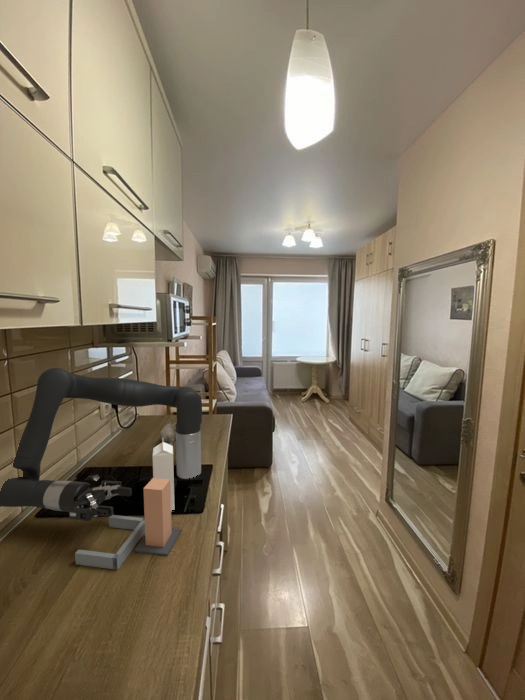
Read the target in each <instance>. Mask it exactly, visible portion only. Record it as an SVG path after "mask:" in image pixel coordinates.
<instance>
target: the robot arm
mask: <svg viewBox="0 0 525 700" xmlns="http://www.w3.org/2000/svg"><path fill="white" fill-rule="evenodd" d="M64 399H84V400H90V401H96V402H99V403H103V404H110V405H115V406H123V407H131V408H132V407H137V408H139V407H147V406H157V405H158V406H166V407H173V408H175V409H176V422H175V423H176V425H175V426H176V432H175V437H176V442H175V454H176V455H175V457H176V460H175V461H176V462H175V463H176V476H177V477H178V478H180V479H184V480H189V478H190V479H194V478H196V476H197V475H198V476H200V475H201V473H202V451H201V450H202V448H201V447H202V446H201V445H202V441H201V439H202V437H201V435H202V434H201V432H202V431H201V426H202V422H203V401H202V397H201V395H200V393H198V392H197V391H196V390H195V389H194V388H192V387H189V386H174V385H161V384H157V383H152V382H147V381H142V380H137V379H132V378H131V379H130V378H123V377H122V378H120V377H119V378H118V377H91V376H85V375H80V374H75V373H72V372H68V370H66V369H64V368H61V367H53V368H49V369H46V370H44V371H43V372H42V373H41V374H40V375H39V376H38V379H37V384H36V391H35V395H34V400H33V404H32V408H31V412H30V414H29V417H28V420H27V422H26V425H25V427H24V429H23V431H22V434H21V436H22V437H20V439H21V440H20V439H19V441H20V443H19V442H18V444H19V447H18V450H17V453H16V457H15V459H14V463H13V466H12V468H14V469H16V470H19V469H21V470H22V471H23V477H19V476H17V477H10V478H11V479H9V478H7V479H8V480H7V481H5V483H4V484H3V486H2V488H1V491H0V507H3V508H4V507H5V508H12V507H13V508H15V507H18V508H19V507H20V508H21V507H22V508H23V507H34V508H40V509H49V510H52V511H59V512H66V513H67V512H68V513H69V519H72V520H76V521H77V520H78V521H83V522H90V521H91V520H92V518H93V517H94V518H95V517H98V516H100V517H110V516H112V515H114V506H109V505H101V504H102V503H103V502H104V501H106V500H110V499H112V497H116V496H119V497H121V496H122V497H131V496H132V494H133V493H132V492H133V491H132V487H127V486H122V481H119V480H102V481H101V482H100V483H101V484H100V485H99V486H92V485H91V484H90V483H88V482H84V481H83V482H82V481H74V480H73V481H72V480H52V479H51V480H50V479H41V480H40V477H41V464H42V460H43V458H44V455H45V452H46V449H47V446H48V443H49V441H50V436H51V433H52V430H53V424H54V421H55V417H56V415H57V412H58V411H59V408H60V406H61V404H62V402H63V401H64ZM198 476H197V477H198ZM193 477H194V478H193ZM106 492H107V495H106Z"/></svg>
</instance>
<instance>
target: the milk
mask: <svg viewBox="0 0 525 700" xmlns="http://www.w3.org/2000/svg"><path fill="white" fill-rule="evenodd" d="M174 469H175V467H174V446H173V444H172V445H169V443H168V444H167V443H165V442H161V443H159V444H158V445H156V446H155V447H152V478H158V479H170V490H171V512H173V511H172V510H175V509H176V508H175V479H174V477H175V476H174V474H175V473H174Z"/></svg>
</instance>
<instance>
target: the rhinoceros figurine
mask: <svg viewBox="0 0 525 700" xmlns="http://www.w3.org/2000/svg"><path fill="white" fill-rule="evenodd" d="M176 423H177V422H174V423H173V424H172V422H171V421H170V422H168V423H167V424H166V425H164V426H163V428H162V429H161V431H160V432H159V438H160V440H161V441H162V442H165V443H167V444H169V445H172V446H173V444H174V442H175V441H176ZM162 442H161V443H162Z"/></svg>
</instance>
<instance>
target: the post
mask: <svg viewBox="0 0 525 700" xmlns="http://www.w3.org/2000/svg"><path fill="white" fill-rule="evenodd" d="M143 510H144V511H143V513H144V518H145V533H144V536H145V540H146V545H149V546H158V547H164V546H165V544H166V542H167V541H168V539H169V537H170V536H171V534H172V511H171V490H170V479H158V478H153V477H152V478H151V479H150V481H148V483H147V484H146V485H145V486H144V487H143Z"/></svg>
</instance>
